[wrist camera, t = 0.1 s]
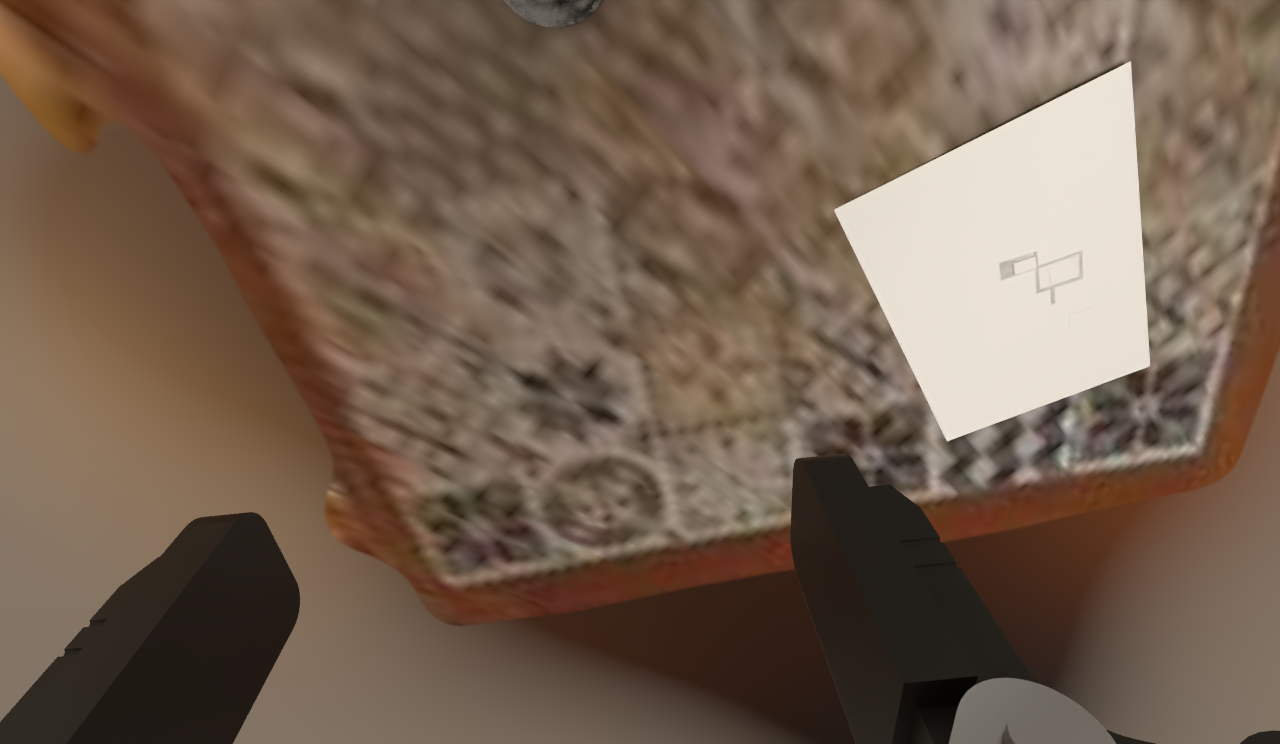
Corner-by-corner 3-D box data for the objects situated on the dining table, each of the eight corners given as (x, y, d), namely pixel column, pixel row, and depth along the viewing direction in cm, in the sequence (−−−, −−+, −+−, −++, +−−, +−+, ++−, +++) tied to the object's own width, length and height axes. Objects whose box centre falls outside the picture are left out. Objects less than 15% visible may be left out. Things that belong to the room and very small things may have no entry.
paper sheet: (1140, 388, 45) (1151, 396, 44) (756, 501, 49) (759, 510, 48) (1153, 47, 33) (1168, 48, 32) (655, 236, 38) (656, 241, 37)
